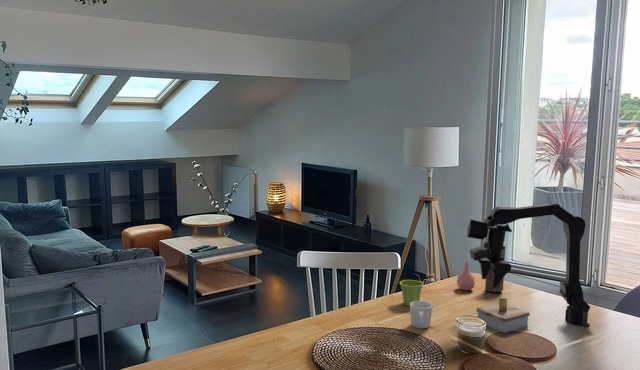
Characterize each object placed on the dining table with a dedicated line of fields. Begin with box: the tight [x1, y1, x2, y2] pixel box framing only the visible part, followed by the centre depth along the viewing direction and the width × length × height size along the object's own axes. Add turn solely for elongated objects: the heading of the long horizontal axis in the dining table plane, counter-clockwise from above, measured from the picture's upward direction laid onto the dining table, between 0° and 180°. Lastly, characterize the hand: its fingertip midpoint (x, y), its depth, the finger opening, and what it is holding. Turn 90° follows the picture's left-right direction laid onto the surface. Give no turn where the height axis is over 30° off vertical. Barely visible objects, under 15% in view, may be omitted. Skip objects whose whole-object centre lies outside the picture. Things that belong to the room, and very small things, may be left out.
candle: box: [484, 248, 506, 293], centre depth 228 cm, size 8×7×20 cm
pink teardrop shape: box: [456, 262, 476, 291], centre depth 230 cm, size 8×8×12 cm
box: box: [477, 312, 529, 333], centre depth 188 cm, size 12×12×4 cm
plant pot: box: [399, 279, 424, 307], centre depth 212 cm, size 9×9×9 cm
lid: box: [476, 296, 530, 323], centre depth 188 cm, size 13×13×6 cm
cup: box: [409, 300, 433, 329], centre depth 187 cm, size 11×8×8 cm
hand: (488, 283), depth 193 cm, fingers open, 9 cm apart
